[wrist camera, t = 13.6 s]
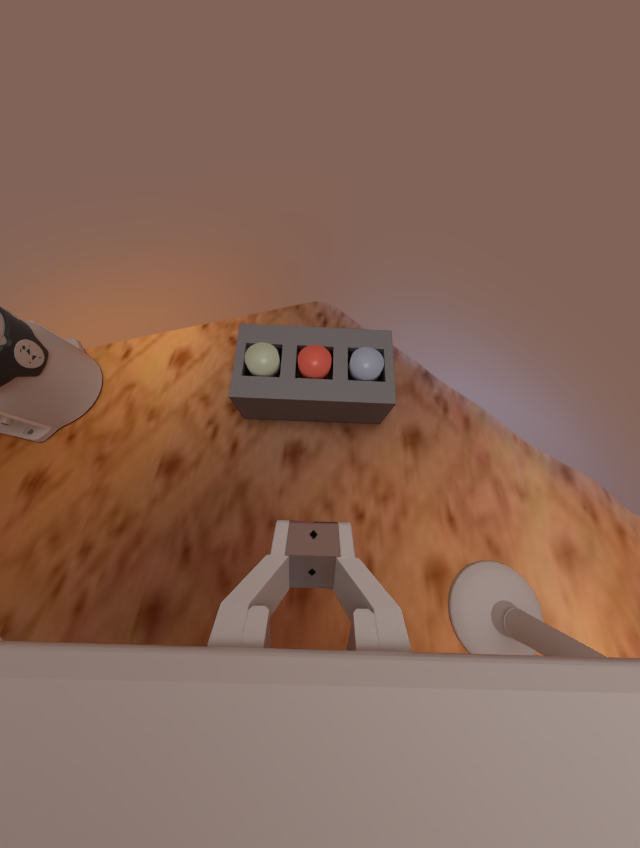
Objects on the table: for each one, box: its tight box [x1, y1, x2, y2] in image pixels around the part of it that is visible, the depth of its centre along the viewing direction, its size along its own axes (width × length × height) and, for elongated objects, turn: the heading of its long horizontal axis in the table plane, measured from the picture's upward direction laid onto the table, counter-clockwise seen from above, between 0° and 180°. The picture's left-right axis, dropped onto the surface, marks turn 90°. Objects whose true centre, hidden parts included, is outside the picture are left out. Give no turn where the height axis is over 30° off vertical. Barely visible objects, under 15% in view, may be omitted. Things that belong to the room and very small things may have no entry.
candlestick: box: [448, 561, 606, 657], centre depth 24 cm, size 13×13×30 cm
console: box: [229, 324, 396, 424], centre depth 43 cm, size 23×12×9 cm, turn 88°
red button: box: [298, 345, 332, 379], centre depth 40 cm, size 5×5×4 cm
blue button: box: [348, 347, 384, 381], centre depth 40 cm, size 5×5×4 cm
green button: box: [245, 342, 281, 377], centre depth 40 cm, size 5×5×4 cm
